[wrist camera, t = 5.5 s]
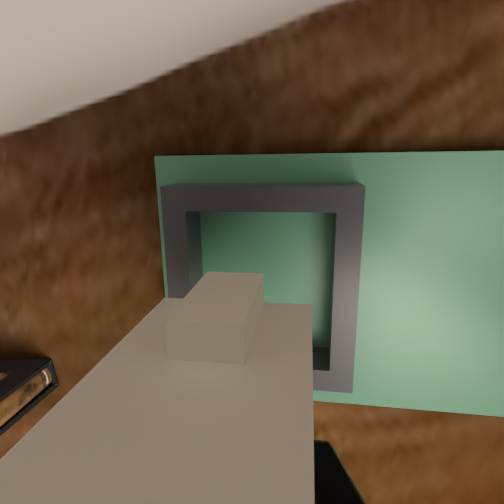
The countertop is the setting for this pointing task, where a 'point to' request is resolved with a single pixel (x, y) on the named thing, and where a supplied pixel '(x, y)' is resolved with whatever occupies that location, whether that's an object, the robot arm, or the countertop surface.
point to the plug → (184, 410)
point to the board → (359, 263)
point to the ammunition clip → (23, 387)
